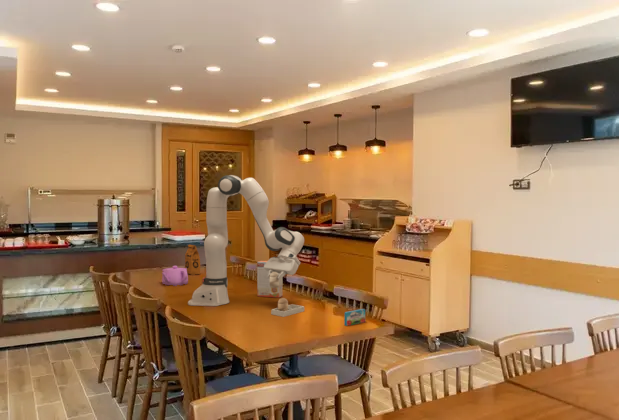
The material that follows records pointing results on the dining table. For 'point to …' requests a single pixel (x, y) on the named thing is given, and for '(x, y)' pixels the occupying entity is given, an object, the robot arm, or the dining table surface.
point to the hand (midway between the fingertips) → (273, 278)
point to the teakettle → (175, 276)
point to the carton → (291, 310)
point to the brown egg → (283, 305)
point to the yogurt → (354, 317)
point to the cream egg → (274, 280)
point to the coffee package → (192, 260)
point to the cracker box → (267, 283)
